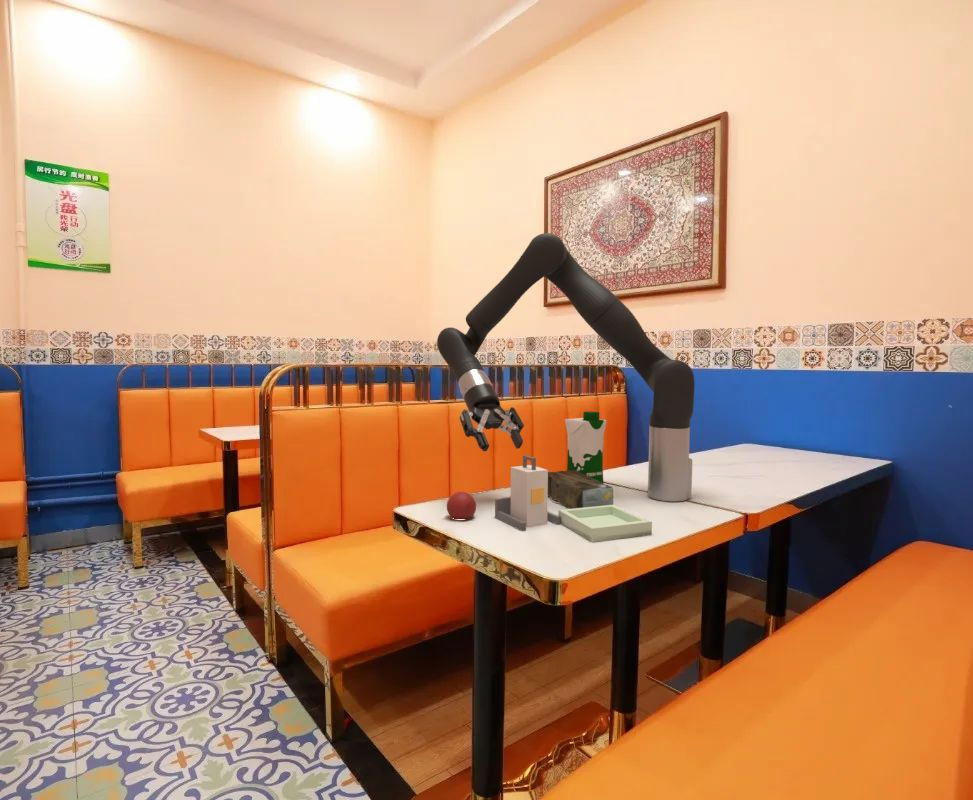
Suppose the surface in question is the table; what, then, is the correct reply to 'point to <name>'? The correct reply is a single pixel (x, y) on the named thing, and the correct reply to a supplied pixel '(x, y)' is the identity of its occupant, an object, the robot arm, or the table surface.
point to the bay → (505, 515)
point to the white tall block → (529, 493)
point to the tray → (604, 523)
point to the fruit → (461, 506)
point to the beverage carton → (578, 490)
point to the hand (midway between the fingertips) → (503, 447)
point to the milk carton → (586, 445)
